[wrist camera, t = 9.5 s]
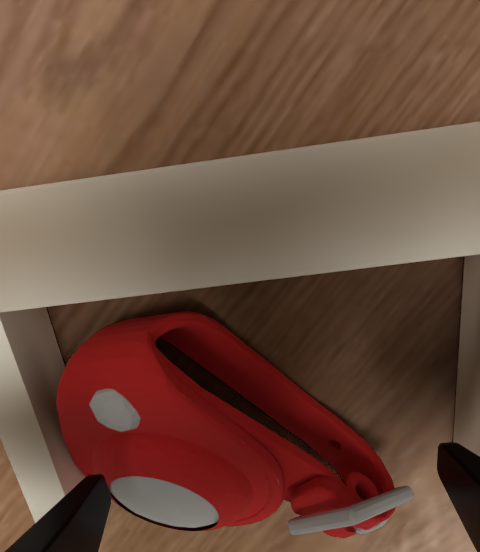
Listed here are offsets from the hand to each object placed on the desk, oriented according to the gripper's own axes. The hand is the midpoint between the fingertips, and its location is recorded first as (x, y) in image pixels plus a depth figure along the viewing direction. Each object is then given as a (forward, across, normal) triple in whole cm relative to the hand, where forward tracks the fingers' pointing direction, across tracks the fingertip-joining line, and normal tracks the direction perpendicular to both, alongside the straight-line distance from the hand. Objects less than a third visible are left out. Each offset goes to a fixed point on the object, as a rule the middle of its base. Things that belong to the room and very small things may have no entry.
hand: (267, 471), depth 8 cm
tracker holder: (+4, +2, +2) cm, 5 cm away
